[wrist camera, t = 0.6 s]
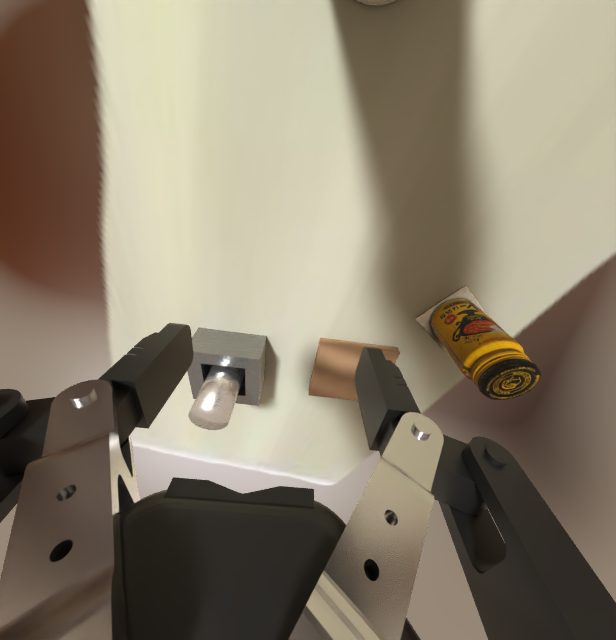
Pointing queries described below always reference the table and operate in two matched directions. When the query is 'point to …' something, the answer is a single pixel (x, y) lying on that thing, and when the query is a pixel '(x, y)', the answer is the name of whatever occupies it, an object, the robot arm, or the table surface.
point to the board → (340, 367)
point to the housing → (229, 360)
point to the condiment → (480, 346)
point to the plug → (217, 397)
